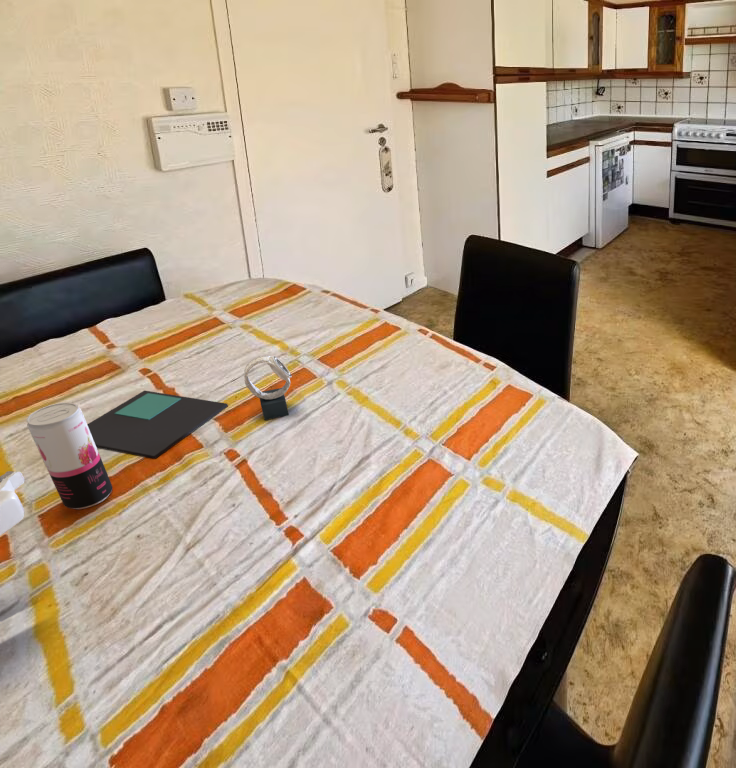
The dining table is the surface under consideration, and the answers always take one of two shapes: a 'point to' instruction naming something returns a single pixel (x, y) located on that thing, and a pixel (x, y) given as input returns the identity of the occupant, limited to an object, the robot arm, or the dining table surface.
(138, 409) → the corner pad
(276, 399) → the watch
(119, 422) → the place mat
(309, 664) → the dining table surface
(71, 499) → the beverage can
